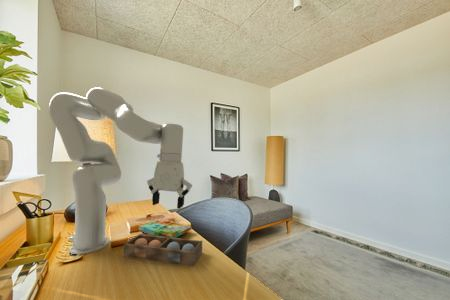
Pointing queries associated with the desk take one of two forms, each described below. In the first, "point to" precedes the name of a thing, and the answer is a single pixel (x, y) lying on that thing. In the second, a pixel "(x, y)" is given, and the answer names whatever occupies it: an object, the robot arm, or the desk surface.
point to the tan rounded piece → (141, 242)
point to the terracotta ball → (154, 243)
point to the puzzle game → (165, 228)
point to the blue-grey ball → (188, 247)
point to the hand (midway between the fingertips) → (167, 205)
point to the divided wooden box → (164, 250)
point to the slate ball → (174, 246)
